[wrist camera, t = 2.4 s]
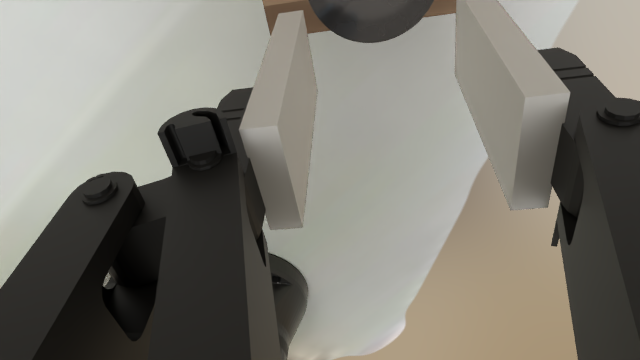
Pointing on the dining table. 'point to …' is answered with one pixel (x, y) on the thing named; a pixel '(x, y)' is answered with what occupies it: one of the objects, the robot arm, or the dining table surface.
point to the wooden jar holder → (278, 3)
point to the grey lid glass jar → (370, 17)
